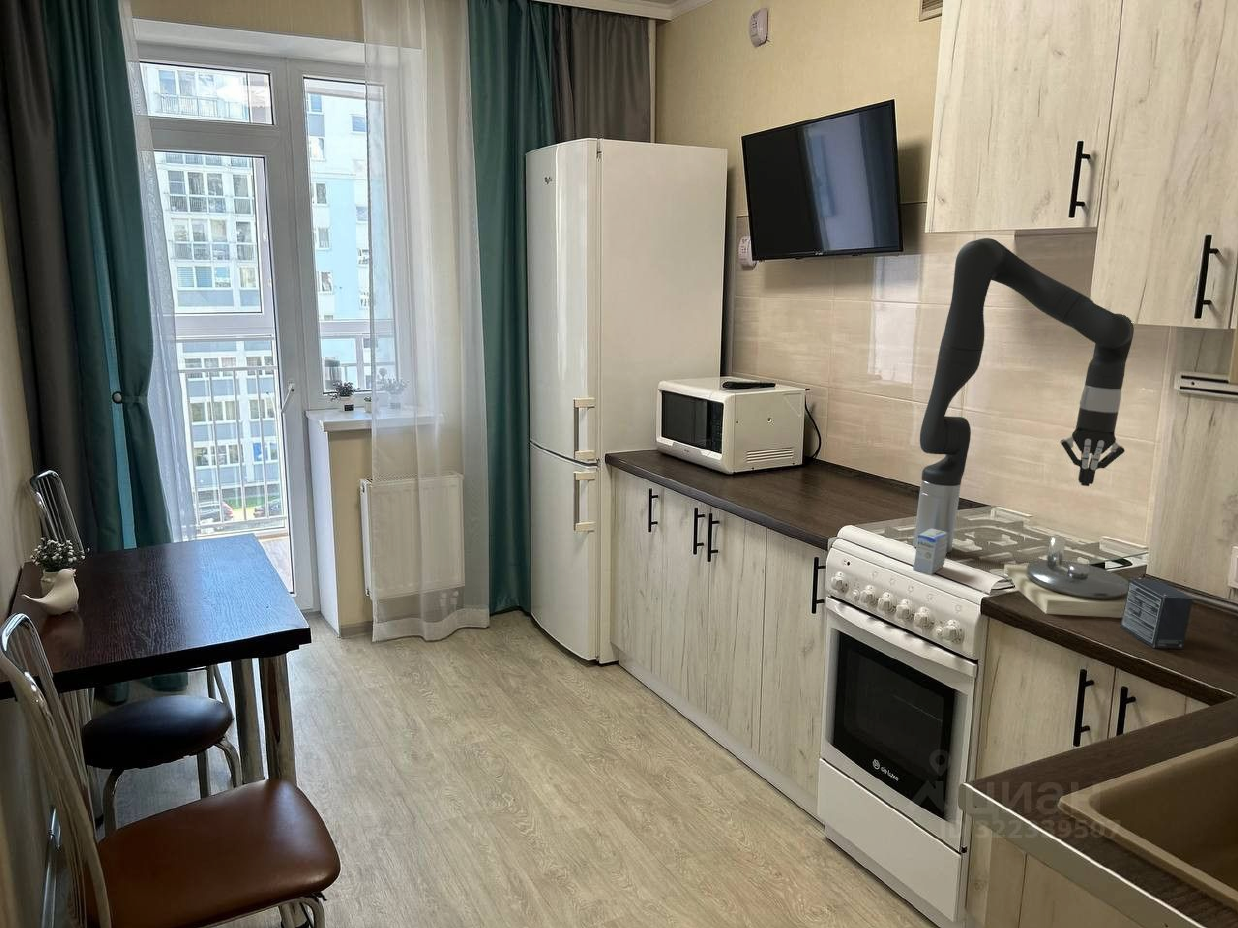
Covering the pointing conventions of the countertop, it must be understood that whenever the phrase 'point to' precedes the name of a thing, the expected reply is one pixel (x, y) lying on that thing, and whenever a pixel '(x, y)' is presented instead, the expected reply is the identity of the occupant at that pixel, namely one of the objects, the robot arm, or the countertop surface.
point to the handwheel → (1075, 576)
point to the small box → (1156, 613)
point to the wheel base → (1062, 598)
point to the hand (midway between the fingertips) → (1084, 485)
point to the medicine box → (930, 551)
